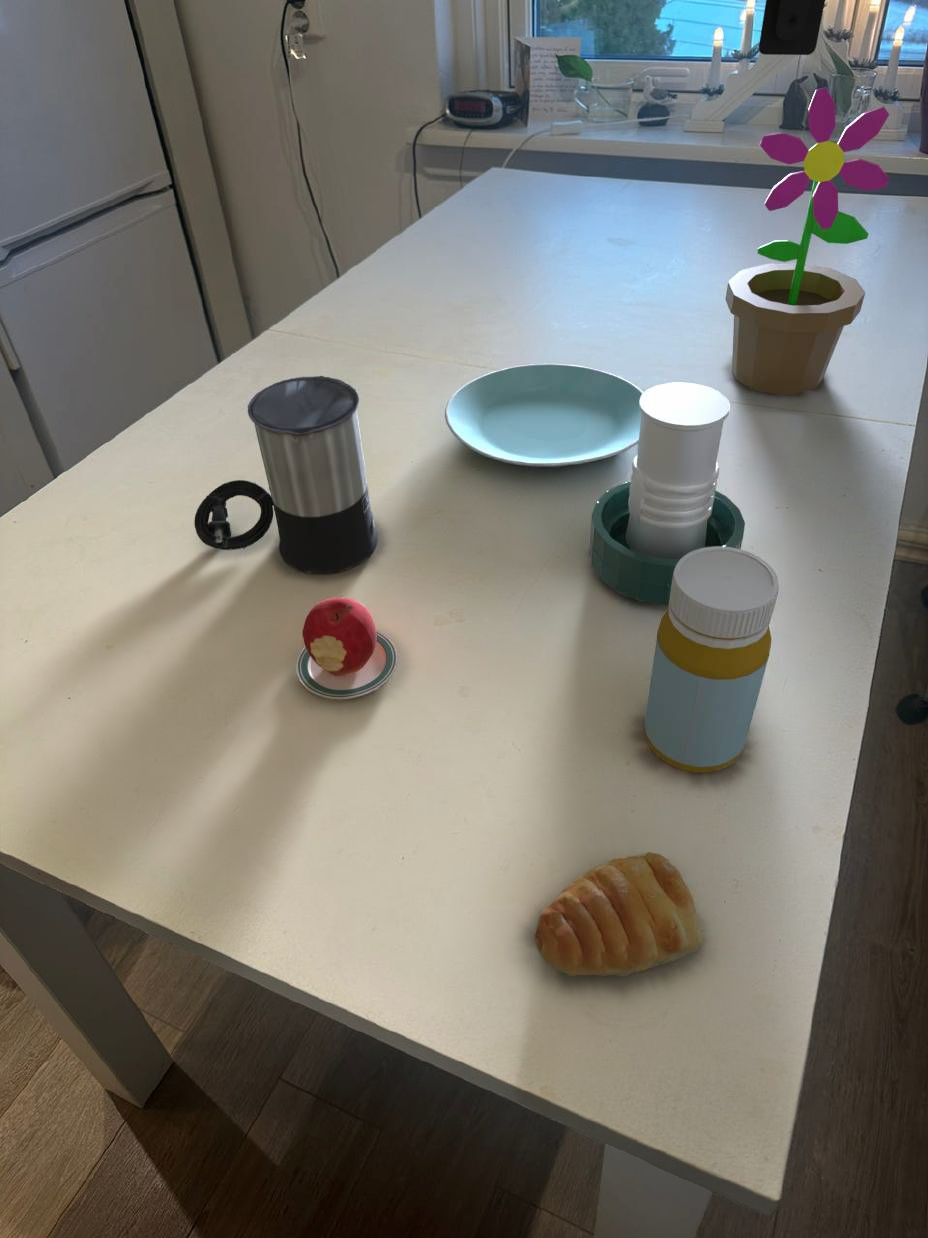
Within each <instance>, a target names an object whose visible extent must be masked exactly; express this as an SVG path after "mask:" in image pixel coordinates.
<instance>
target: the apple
mask: <svg viewBox="0 0 928 1238" xmlns="http://www.w3.org/2000/svg"><path fill="white" fill-rule="evenodd" d="M301 634H302V639H303V644H304V647H303V648H302V650H301V651H300V653H299V654H298V657H297V660H296V663H295V665H296V666H295V669H296V675H297V678H298V681H299V682H300V684H301V685H302V686H303V687H304V688H305V689H306V690H308V691H309V692H310V693H312V694H314V695H316V696H318V697H322V698H324V699H325V698H326V699H331V700H350V699H355V698H359V697H363V696H366V695H368V694H371V693H373V692H375V691H377V690H378V689H379V688H381V687H382V686H383V685H384V684H386V683H388V681H389V680H390V679H391V677H392V676H393V675H394V673H395V670H396V668H397V666H398V650H397V648H396V645H395V644H394V642H393V641H392V640H391V639H390V638H389V637H388V636H386V635H385V634H384V633H382V632H380V631H378V630H377V628H376V624H375V622H374V619H373V617H372V614H371V612H370V611H369V610H368V609H367V608H366V607H365V606H364V605H363V604H361V603H360V602H358V601H357V600H354V599H352V598H347V597H330V598H326V599H323V600H321V601H319V602H317V603H316V604H314V606H313V607H312V608H311V609H310V610H309V612H308V614H307V615H306V617H305V620H304V623H303V627H302V632H301Z"/></svg>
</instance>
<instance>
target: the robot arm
mask: <svg viewBox="0 0 928 1238" xmlns="http://www.w3.org/2000/svg"><path fill="white" fill-rule="evenodd" d="M825 3H826V0H765V5H764V10H763V19H762V24H761V31H760V37H759V44H758V50H759V53H760V54H761V55H767V56H768V55H772V56H774V55H776V56H777V55H778V56H786V55H787V56H810V55H812V54H813V53H814V52H815V51H816V48H817V45H818V38H819V35H820V34H819V33H820V30H821V29H820V28H821V23H822V18H823V12H824V8H825Z"/></svg>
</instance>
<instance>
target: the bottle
mask: <svg viewBox="0 0 928 1238" xmlns="http://www.w3.org/2000/svg"><path fill="white" fill-rule="evenodd" d="M779 586H780V584H779V578H778V575H777V573H776V571H775V570H774V568H773V567H772V566H771V565H770V564H769V562H767V561H766V560H764V559H763V558H761V557H760V556H758V555H756V554H754V553H752V552H749V551H746V550H744V549H742V548H741V549H737V548H731V547H721V546H715V547H705V548H701V549H697V550H694V551H692V552H690V553H688V554H686V555H685V556H683V557H682V558H681V559H680V560H679V562H678V563H677V565H676V568H675V569H674V572H673V578H672V585H671V591H670V600H669V605H668V607H667V608H666V610H665V611H664V612H663V615H662V616H661V617H660V621H659V624H658V629H657V633H656V638H655V639H656V640H655V645H654V646H655V647H654V653H653V659H652V665H651V666H652V667H651V674H650V681H649V687H648V692H647V693H648V694H647V702H646V708H645V714H644V723H643V731H644V737H645V741H646V742H647V744H648V746H649V748H650V750H651V751H652V752H653V753H654V754H656V756H657V757H659V758H660V759H661V760H662V761H663V762H665V763H667V764H669V765H671V766H672V767H674V768H677V769H678V770H681V771H685V772H691V773H713V772H716V771H719V770H723V769H727V767H730V766H731V765H732V764H733V763H735V762H736V761H737V760H739V758H740V756H741V754H742V753H743V750H744V749H745V745H746V742H747V740H748V739H747V738H748V735H749V732H750V728H751V725H752V721H753V717H754V713H755V709H756V707H757V706H756V705H757V702H758V699H759V695H760V691H761V688H762V683H763V681H764V680H763V679H764V676H765V672H766V669H767V665H768V661H769V657H770V654H771V653H770V652H771V647H772V641H773V640H772V639H773V638H772V634H771V629H770V624H771V620H772V616H773V614H774V610H775V606H776V603H777V600H778V594H779V590H780V587H779Z"/></svg>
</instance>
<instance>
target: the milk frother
mask: <svg viewBox="0 0 928 1238" xmlns="http://www.w3.org/2000/svg"><path fill="white" fill-rule="evenodd" d="M359 405H360V396H359V393H358V392H357V390H356V388H354V387H353V386H352V385H351V384H349V383H347V382H345V381H343V380H341V379H338V378H334V377H330V376H324V375H318V376H317V375H315V376H298V377H294V378H293V377H292V378H288V379H284V380H281V381H278V382H274V383H273V384H271V385H268V386H267V387H265V388H263V389H261V390H260V391H258V392H257V393H256V394H255V395H253V397H252V398H251V399H250V401H249V403H248V404H247V414H248V418H249V420H250V421H251V422H252V423H253V424H254V428H255V433H256V439H257V441H258V445H259V446H258V447H259V451H260V455H261V459H262V463H263V467H264V471H265V476H266V480H267V484H268V488H269V492H268V491H267V490H266V489H265V488H264V487H263V486H262V485H260V484H257V483H256V482H253V481H251V480H250V481H249V480H245V479H236V480H230V481H227V482H224V483H222V484H221V485H219V486H217V487H216V488H214V489H213V490H212V491H210V492H209V494H207V495H206V496H205V498H204V499H202V502H201V503H200V504H199V505H198V507H197V509H196V512H195V515H194V523H193V524H194V529H195V532H196V535H197V536H198V538H199V540H200V541H201V542H202V543H203V544H205V545H206V546H208V547H210V548H212V549H217V550H223V551H224V550H226V551H228V550H229V551H230V550H240V549H244V548H247V547H250V546H252V545H254V544H255V543H256V542H258V541H259V540H261V539H262V538H263V537H264V536H266V535H265V534H266V533H267V532H268V531H269V529H270V527H271V525H272V523H273V519H274V516H275V520H276V526H277V531H278V536H279V542H278V551H279V554H280V556H281V558H282V560H283V561H284V562H285V563H286V564H287V565H288V566H290V567H291V568H293V569H294V570H296V571H299V572H303V573H307V574H313V575H314V574H315V575H316V574H317V575H327V574H328V575H329V574H335V573H341V572H344V571H347V570H350V569H352V568H355V567H356V566H358V565H360V564H361V563H363V562H365V561H366V560H367V559H369V558H370V557H371V555H372V554H373V553H374V551H375V550H376V548H377V546H378V542H379V533H378V530H377V528H376V525H375V520H374V515H373V512H372V508H371V501H370V491H369V486H368V480H367V473H366V472H367V471H366V464H365V458H364V457H365V456H364V451H363V444H362V436H361V430H360V424H359V416H358V407H359ZM238 496H242V497H247V498H249V499H252V500H254V501H255V502H256V503H257V504H258V506H259V508H260V515H259V518H258V520H257V522H256V523H255V524H254V525H253V526H252V527H251V528H250V529H249V530H247V531H245V532H244V533H241V534H238V535H235V536H232V530H231V524H230V522H229V521H227V518H228V517H229V513H228V509H227V501H228V500H230V499H233V498H235V497H238ZM211 513H212V514H211ZM210 514H211V515H210ZM210 516H211V521H210Z"/></svg>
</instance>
